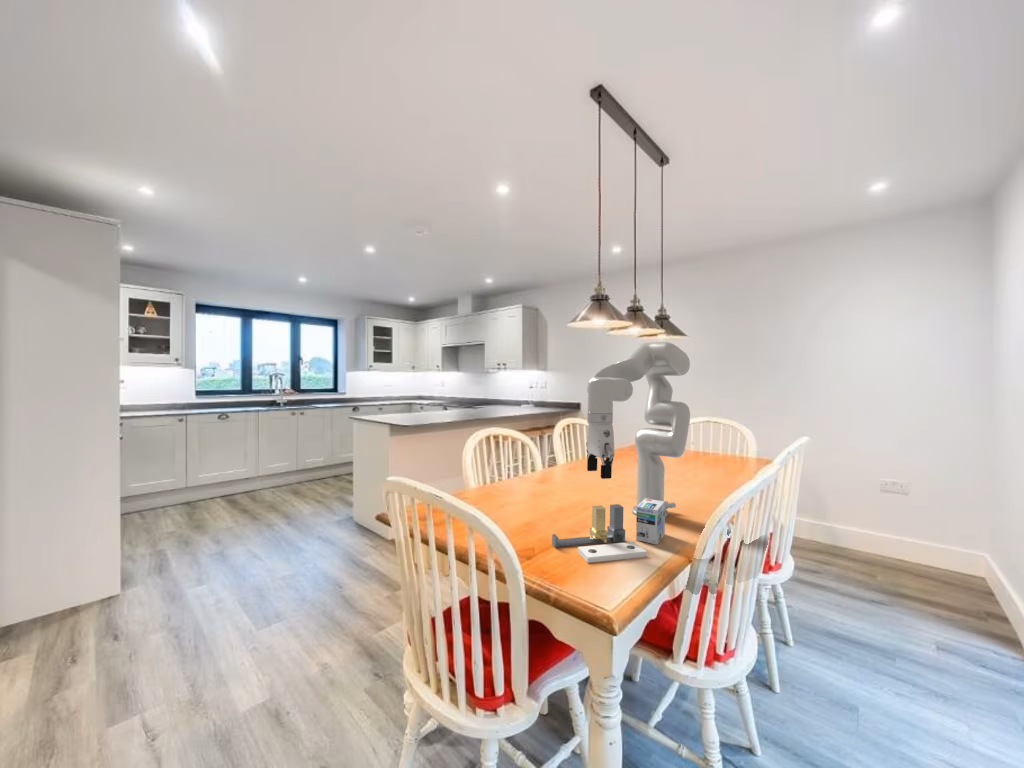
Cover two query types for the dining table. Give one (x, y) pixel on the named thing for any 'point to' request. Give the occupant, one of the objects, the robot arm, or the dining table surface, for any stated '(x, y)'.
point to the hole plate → (611, 552)
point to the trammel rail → (613, 535)
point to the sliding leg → (598, 523)
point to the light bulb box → (650, 521)
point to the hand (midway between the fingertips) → (598, 474)
